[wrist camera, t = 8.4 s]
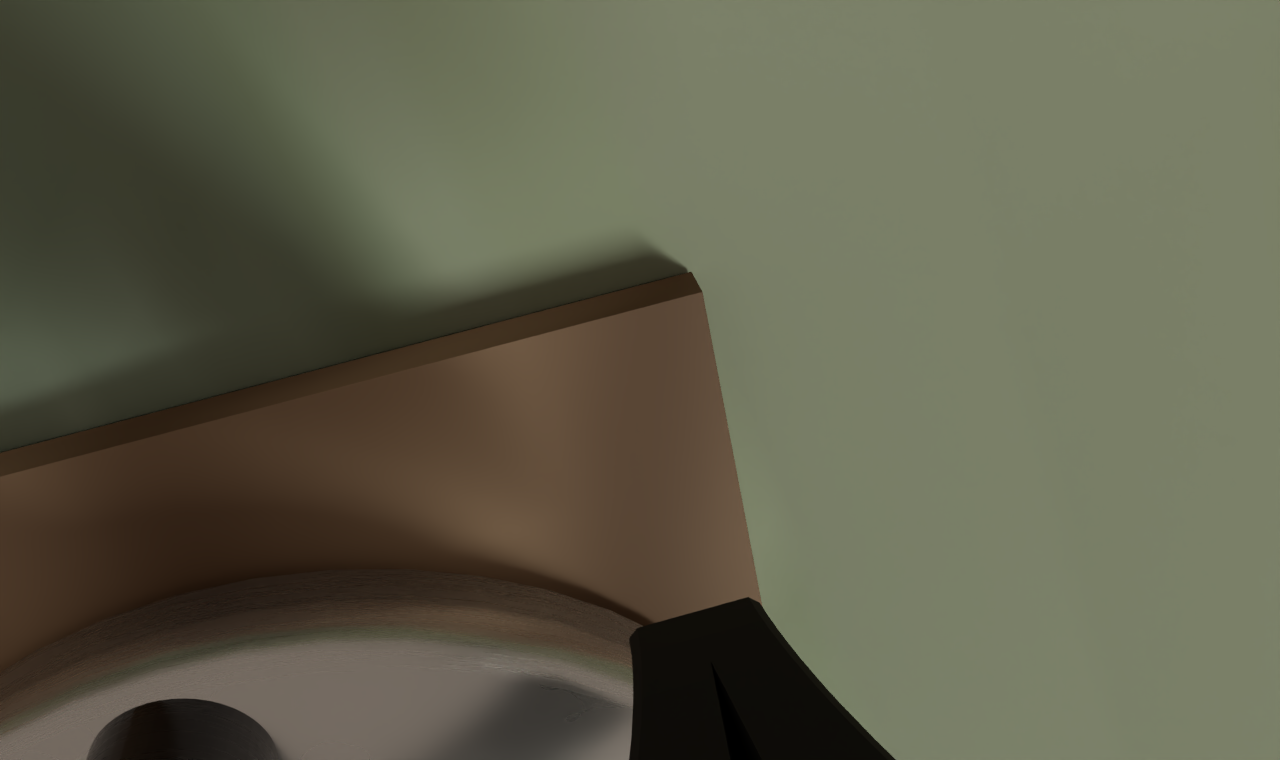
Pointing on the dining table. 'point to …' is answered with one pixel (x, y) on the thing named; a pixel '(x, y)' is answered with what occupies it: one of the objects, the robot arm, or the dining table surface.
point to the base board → (406, 476)
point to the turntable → (332, 675)
